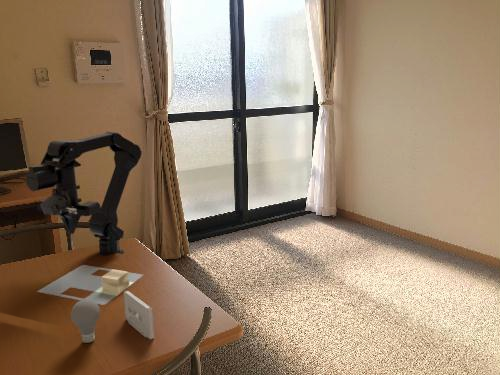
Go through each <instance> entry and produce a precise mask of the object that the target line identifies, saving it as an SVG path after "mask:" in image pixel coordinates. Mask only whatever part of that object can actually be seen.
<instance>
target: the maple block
mask: <svg viewBox="0 0 500 375" xmlns="http://www.w3.org/2000/svg"><path fill="white" fill-rule="evenodd" d="M128 272H129V271H125V270H120V269H112V270H111V271H107V272H106V273H105V274H103V275H102V276H100V277H101V278H102V288H103V291H109V292H114V293H119V292H121V291H122V290H123V289H125V288H126V287H127V286H129V276H128ZM129 287H130V286H129ZM126 289H127V288H126ZM126 289H125V290H126ZM122 292H123V291H122ZM122 292H121V293H122Z"/></svg>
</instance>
